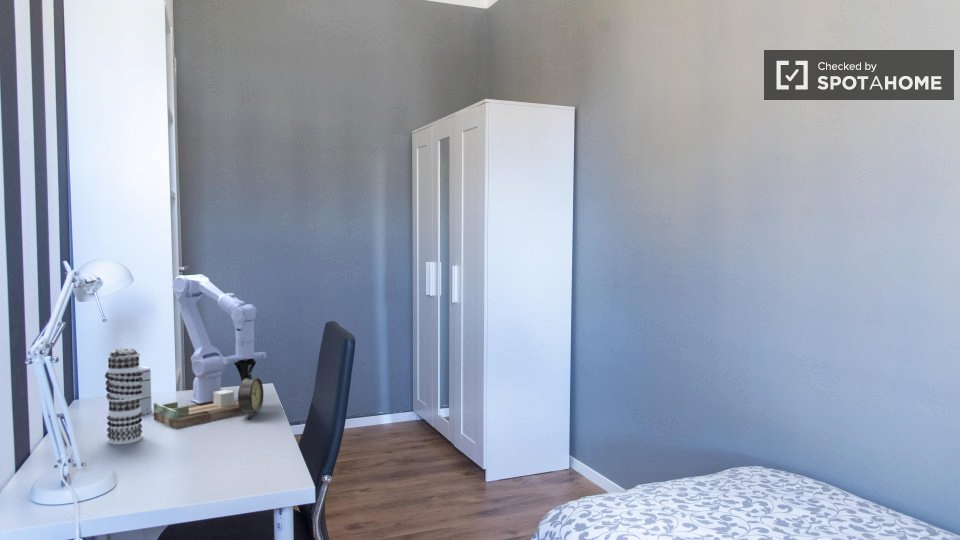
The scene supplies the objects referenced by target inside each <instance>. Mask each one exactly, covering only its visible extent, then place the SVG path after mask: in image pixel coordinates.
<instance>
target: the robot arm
mask: <svg viewBox="0 0 960 540" xmlns="http://www.w3.org/2000/svg"><path fill="white" fill-rule="evenodd" d="M171 287H172V290H173V292H174V295H175V298H176V302H177V306H178V309H179V312H180V315H181V318H182V320H183V323H184V325H185V328H186V331H187V334H188V336H189V339H190V342H191V344H192V347H193V349H194V352H193V354H192V355H191V357H190V361H191V369H192V372H193V374H194V375H195V377H194V378H193V379H194V380H193V382H192V388H193V389H192V396H193V397H192V399H190V402H192V403H195V404H197V403H202V402H208V401H213V400H214V392H216V391H222V388H221V385H222V382H221V381H222V380H221V379H222V378H221V375H223V371H225V369H226V365H228V364H233V363H234V365H235V368H236V370H237V371H238V374H239V376H240V380H241V381H240V382H242V381H243V380H244V379H246V378H249V376H248V367H249V365H251V366H252V370H254V367H255V366H256V363H257V361H256V360H260V359H266V358H267V352H266V351H259V352H255V321H256V320H257V318H258V316H259V315H258V313H259V312H258V309H257V306H255V305H254V304H252V303H249V304H246V303H245V301H244V300H240V299H239V298H238V297H236V296H235V295H236V294H234V293H232V292H231V293H230V292H227V293H224V291H222V290H220V289H219V287H217V286H216V285H214V284H213V283H212V282H211V281H210V278H208V277H207V276H206V275H204V274H201V273H198V274H192V275H188V274H187V275H182V274H181V275H177V276H176V277H175V279H174V281H173V283H172V286H171ZM203 295H205V296H207V297H209V298H210V299H212V300H214V301H215V302H217V305H218V307H219V309H221V310H223V311H224V312H225V313H227V314H228V315H230V317H231V320H232V322H233V326H234V329H235V354H233V355H229V356H223V355H222V353H221V352H220V350H219V349H218V348H217V347H215V346H213V345H212V343H211V341H210V338H209V336H208V332H207V331H206V326H205V324H204V322H203V320H202V316H201V314H200V312H199V309H198V305H197V302H198V301H199V300H200V299H201V297H202V296H203ZM251 366H250V367H249V374H250V373H251ZM251 374H252V373H251Z"/></svg>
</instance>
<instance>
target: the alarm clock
mask: <svg viewBox="0 0 960 540" xmlns="http://www.w3.org/2000/svg"><path fill="white" fill-rule="evenodd" d="M250 366H251V365H249V367H250ZM249 367H248V376H249V378H246V379H244V380H243V381H240V382H241V383H240V384H239V386H238V387H239V388H238V392H237V401H238V404H239V407H240V410H241V411H242V412H243V413H244V414H243V415H245V414H247V420H250V417H251V414H258V413H259V412H260V411H261V409H262V407H263V402H264V387H263V382H262V380H261V379H260V378H259V377H252V372H253V369H252V366H251V373H250V374H249Z"/></svg>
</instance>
